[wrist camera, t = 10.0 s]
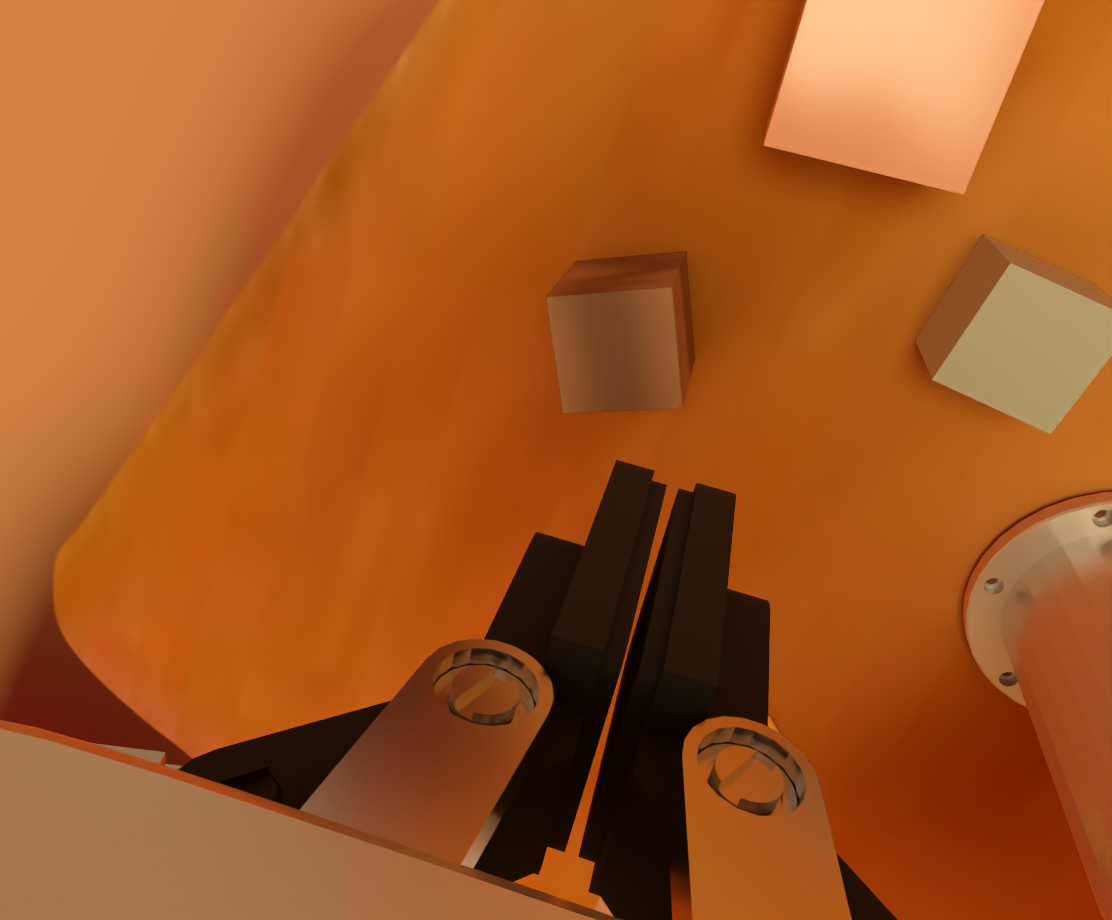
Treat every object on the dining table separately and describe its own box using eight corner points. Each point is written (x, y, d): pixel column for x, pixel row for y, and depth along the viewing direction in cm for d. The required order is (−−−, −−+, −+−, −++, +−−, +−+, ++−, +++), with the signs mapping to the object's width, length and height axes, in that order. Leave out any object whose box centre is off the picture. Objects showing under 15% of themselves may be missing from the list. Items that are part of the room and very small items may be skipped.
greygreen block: (1095, 284, 36) (1138, 321, 32) (1020, 387, 39) (1050, 434, 34) (983, 233, 36) (1010, 263, 32) (914, 338, 39) (932, 379, 34)
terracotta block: (1014, -26, 32) (1058, -35, 27) (937, 168, 36) (963, 194, 30) (824, -68, 33) (832, -84, 28) (766, 127, 36) (763, 145, 31)
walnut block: (686, 251, 39) (672, 287, 34) (694, 358, 41) (682, 408, 36) (576, 260, 41) (546, 297, 35) (589, 364, 43) (562, 413, 37)
